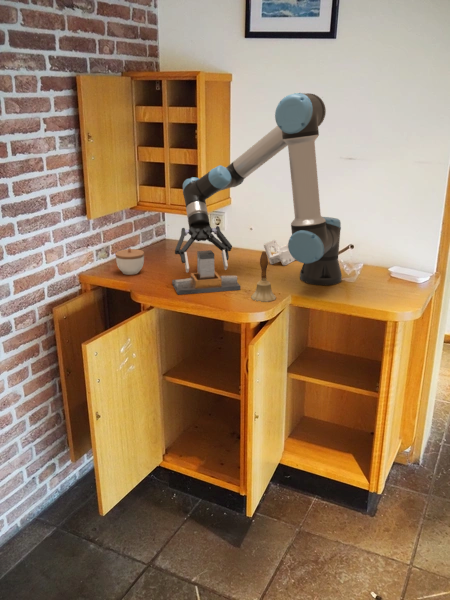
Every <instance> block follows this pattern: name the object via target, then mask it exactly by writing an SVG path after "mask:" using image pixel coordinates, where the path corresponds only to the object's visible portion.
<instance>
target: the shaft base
mask: <svg viewBox="0 0 450 600" xmlns="http://www.w3.org/2000/svg"><path fill="white" fill-rule="evenodd" d="M171 281H172V283H171V284H172V286H173V288H174V290H175V292H176V294H177V295H178V296H179V295H181V296H182V295H192V294H193V295H194V294H204V293H205V294H206V293H217V292H218V293H219V292H230V291H231V292H232V291H241V284H240V283H239V282H238V276H237V275H221V276H220V275H219V274H218V272H217V271H215V270H214V279H205V280H198V272H190V277H189V278H179V279H172V280H171Z"/></svg>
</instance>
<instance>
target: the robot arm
mask: <svg viewBox="0 0 450 600" xmlns="http://www.w3.org/2000/svg"><path fill="white" fill-rule="evenodd" d="M326 110H327V109H326V104H325V102H324V101H323V99H322V98H321V97H320V96H318V95H317V94H315V93H305V92H304V93H303V92H302V93H301V92H299V93H298V92H297V93H295V92H294V93H291V94H288V95H286V96H284V97H283V98H282V99H280V101H279V102H278V104H277V105H276V109H275V111H274V113H275V114H274V118H275V119H274V120H275V123H276V126H275V127H274V128H273V129H271V130H270V131H269V132H268V133H267V134H265V135H264V136H263V137H262V138H261V139H260V140H258V141H257V142H256V143H254V144H253V145H252V146H251V147H249V148H248V149H247V150H246V151H244V152H243V153H242V154H241V155H239V156H238V157H237V158H236V159H235V160H234V161H232V162H230V163H229V164H228V165H227V166H226V167H225V166H223V165H221V164H220V165H217V166H216V167H214V168H211V170H209V171H208V172H207V173H206V174H203V176H202V177H200V178H199V177H193V176H192V177H190V178H186V179H185V180H184V181H183V183H182V195H183V199H184V203H185V210H186V216H187V223H188V229H186V228H185V227H182V228H181V231H180V237H179V239H178V242H177V244H176V247H175V250H174V254H175V255H179V257H180V261H181V263H182V264H184V268H185V273H189V271H190V265H189V259H188V258H189V257H188V252H187V251H188V250H189V248H190V247H191V246H192V244H193V243H194V242H195V241H196V242H201V241H202V242H205V241H208V242H209V243H211V244H212V245H214V246H215V247H216V248H217V249H219V250H220V251H221V258H222V259H221V260H222V265H223V269H224V270H225V271H226V270H228V267H229V265H228V260H229V258H230V256H229V252H231V251H232V248H233V245H232V244H231V242H230V241H229V240H228V238H227V237H226V236H225V235H224V234H223V232H222V231H221V227H220V226H218V225H216V226H215V227H214V228H213V227H212V226H211V224H210V217H209V213H208V207H207V200H208V199H209V198H210V197H213V195H215V194H217V193H218V192H221V191H224V190H227V189H231V188H236V187H237V186H239V185H241V184H243V182H244V181H245V179H246V178H247V177H249V176H250V175H251V174H252V173H253V172H255V171H256V170H258V169H259V168H260V167H262V166H263V165H265V164H266V163H267V162H268V161H270V160H271V159H273V158H274V157H275V156H276V155H277V154H279V153H280V152H281V151H282V150H284V149H285V148H286V147H287V149H288V150H287V152H288V161H289V168H290V169H289V170H290V180H291V181H290V182H291V191H292V202H293V211H294V212H293V214H294V219H293V220H292V221H291V222H290V227H291V235H290V237H289V239H288V243H287V244H288V249H289V252H290V254H291V255H292V257H293V258H295V259H296V260H295V261H297V262H299V263H301V264H302V267H301V269H300V272H299V278H300V281H302V282H303V283H307V284H310V285H316V286H332V285H337V284H339V283H341V282H342V277H343V274H342V270H341V265H340V262H339V255H340V254H339V251H340V239H341V230H342V225H341V224H342V223H341V220H340V219H339V218H335V217H329V216H323V215H322V214H321V213H322V212H321V205H320V204H321V203H320V192H319V191H320V190H319V179H318V168H317V166H318V165H317V157H316V156H317V155H316V142H315V141H316V140H317V138H318V137H319V135H320V134H319V133H320V132H319V130H320V129H319V127H320V126H321V125H322V123H323V122H324V120H325V118H326V114H327V113H326V112H327V111H326ZM188 234H189V236H190V237H189V238H188V240H187V241H186V242H185V244H184V243H183V242H184V240H185V238H186V236H187V235H188ZM214 235H216V237H217V238H216V237H215V236H214ZM183 244H184V245H183ZM182 245H183V247H182ZM181 247H182V248H181Z"/></svg>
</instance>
